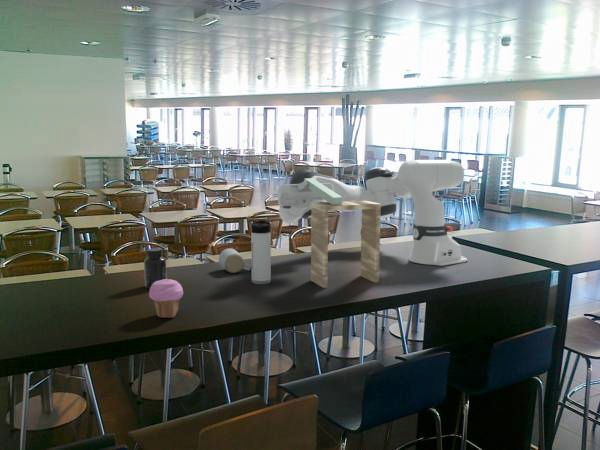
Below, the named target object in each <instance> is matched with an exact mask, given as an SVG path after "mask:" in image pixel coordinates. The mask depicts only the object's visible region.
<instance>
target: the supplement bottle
mask: <svg viewBox="0 0 600 450" xmlns="http://www.w3.org/2000/svg"><path fill="white" fill-rule="evenodd" d="M143 267H144V268H143V270H144V273H143V274H144V286H145V288H146V289H149V290H150V288H151V285H152V284H153V283H154V282H156V281H160V280H163V279H168V274H167V272H168V271H167V270H168V269H167V259H166V258H165V257H164V256H163V249H162V248H158V247H156V248H155V247H153V248H148V249H146V258H145V259H144V261H143Z"/></svg>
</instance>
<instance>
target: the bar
mask: <svg viewBox="0 0 600 450" xmlns="http://www.w3.org/2000/svg"><path fill="white" fill-rule="evenodd" d="M306 180H308V181H309V186H308V187H307V188H308V189H310V190H311V191H313V192H314V193H316V194H317V195H319V196H320V197H321V198H323V199H324V200H326V202H329V203H330V204H331V205H342V198H343V197H341V196H340V195H338V194H337V193H335V192H334V191H332V190H331V189H329V188H327V187H326V186H324V185H323V184H321V183H320V182H318V181H316V180H315V179H313V178H305V179H304V181H306Z"/></svg>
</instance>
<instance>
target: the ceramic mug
mask: <svg viewBox="0 0 600 450" xmlns="http://www.w3.org/2000/svg"><path fill="white" fill-rule="evenodd" d="M218 264H219V266H220V267H221V268H222V269H224V270H225V271H226V272H228V273H231V274H236V273H237V274H238V273H239V272H240V271H242V270H245V271H247V272H249V271H251V269H252V265H249V264H248V263H246V262H245V261H244V258H243V257H242V255H241V254H240V253H239V252H238V251H237V250H236V249H234V248H225V249H224V250H222V251H220V254H219V256H218Z"/></svg>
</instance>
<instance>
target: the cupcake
mask: <svg viewBox="0 0 600 450" xmlns="http://www.w3.org/2000/svg"><path fill="white" fill-rule="evenodd" d="M183 289H184V288H183V286H182V285H181V284H180V282H178V280H176V279H175V280H174V279H170V278H169V279H168V278H167V279H163V280H160V281H156V282H154V283H153V284H152V285H151V288H150V289H149V294H148V296H149V298H150V299H151V300H153V304H154V307H155V311H156V312H155V313H156V315H157V317H159V318H168V319H169V318H170V319H171V318H172V319H173V318H174V317H176V315H177V314H178V310H179V304H180V299H182V298H183V295H184V290H183Z"/></svg>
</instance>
